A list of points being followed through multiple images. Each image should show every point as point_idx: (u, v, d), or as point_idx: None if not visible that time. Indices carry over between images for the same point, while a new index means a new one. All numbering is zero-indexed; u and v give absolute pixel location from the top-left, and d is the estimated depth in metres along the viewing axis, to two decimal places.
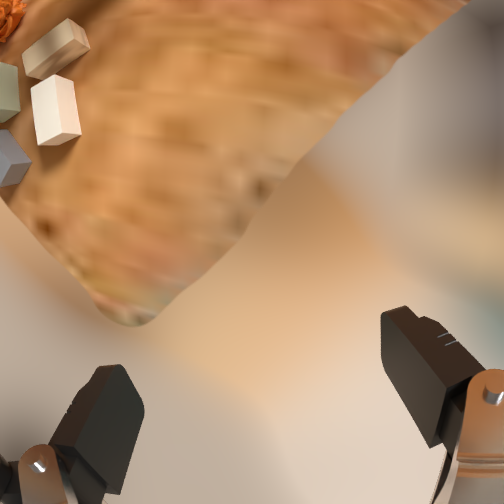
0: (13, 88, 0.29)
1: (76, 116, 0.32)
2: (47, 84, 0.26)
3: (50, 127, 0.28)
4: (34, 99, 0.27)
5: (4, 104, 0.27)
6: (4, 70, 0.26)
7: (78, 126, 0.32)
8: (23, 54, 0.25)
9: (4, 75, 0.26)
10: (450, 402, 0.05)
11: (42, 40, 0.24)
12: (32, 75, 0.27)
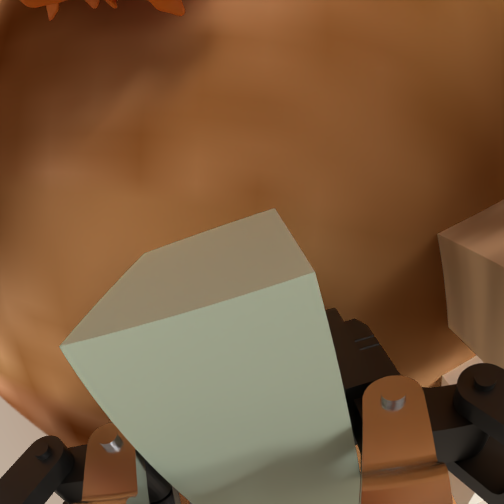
0: None
1: None
2: None
3: None
4: None
5: None
6: None
7: None
8: None
9: None
10: (355, 404, 0.06)
11: None
12: None
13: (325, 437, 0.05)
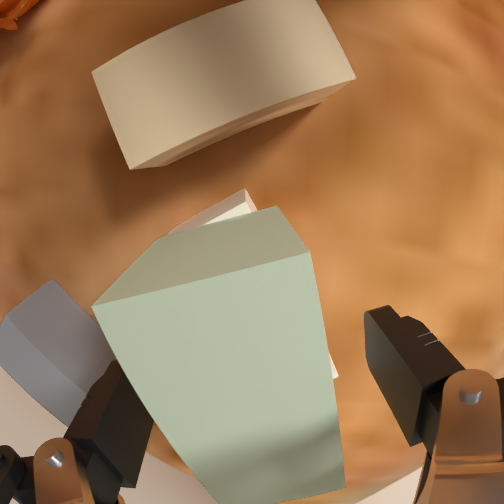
0: None
1: None
2: None
3: None
4: None
5: None
6: None
7: None
8: (99, 75, 0.08)
9: None
10: (428, 401, 0.05)
11: (192, 35, 0.08)
12: (147, 165, 0.10)
13: (312, 401, 0.06)
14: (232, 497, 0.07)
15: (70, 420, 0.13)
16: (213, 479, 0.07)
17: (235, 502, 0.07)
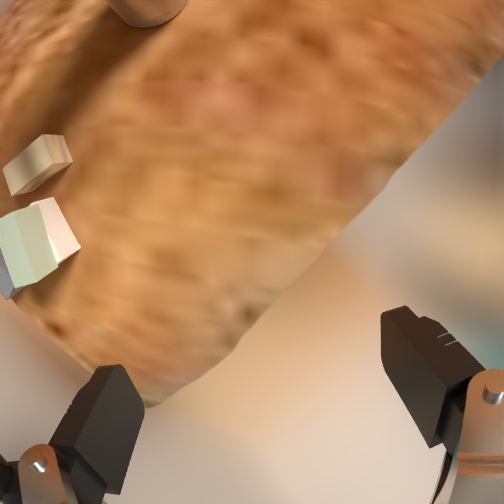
0: (41, 241, 0.29)
1: (69, 232, 0.35)
2: None
3: None
4: None
5: (39, 272, 0.28)
6: (24, 220, 0.26)
7: (74, 241, 0.35)
8: (4, 170, 0.28)
9: (26, 228, 0.27)
10: (450, 402, 0.05)
11: (20, 158, 0.28)
12: (18, 193, 0.30)
13: (18, 241, 0.26)
14: (15, 280, 0.27)
15: (0, 286, 0.32)
16: (10, 269, 0.26)
17: (16, 283, 0.27)
